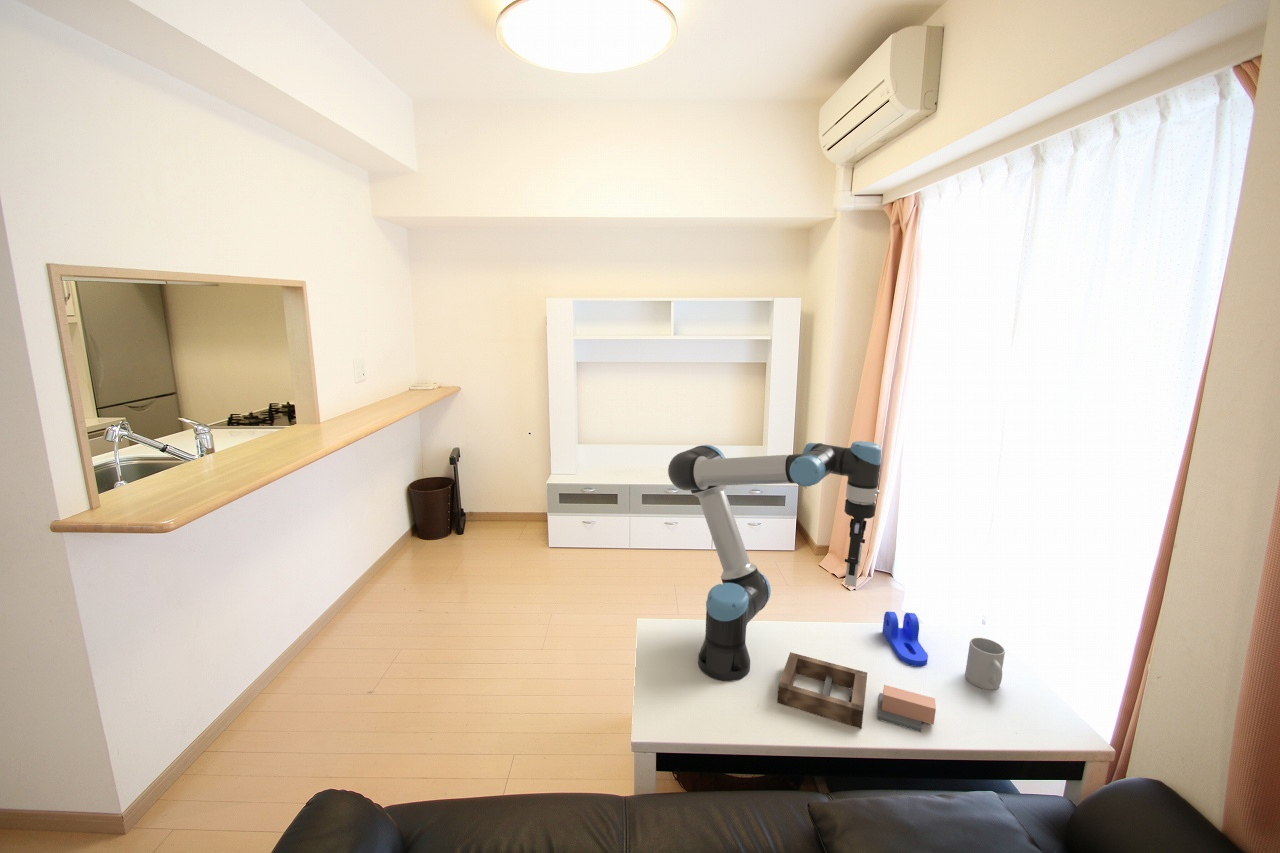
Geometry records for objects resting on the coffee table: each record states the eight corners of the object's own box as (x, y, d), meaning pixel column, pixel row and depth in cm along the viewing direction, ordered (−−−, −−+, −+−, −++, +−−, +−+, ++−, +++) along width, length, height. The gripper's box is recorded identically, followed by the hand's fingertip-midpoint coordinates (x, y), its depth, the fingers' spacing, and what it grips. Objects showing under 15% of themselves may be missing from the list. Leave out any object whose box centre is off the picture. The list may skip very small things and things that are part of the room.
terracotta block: (881, 709, 143) (883, 694, 142) (882, 699, 147) (884, 684, 146) (933, 724, 138) (935, 709, 137) (932, 713, 142) (934, 698, 141)
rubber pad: (877, 719, 141) (878, 715, 141) (879, 695, 150) (879, 692, 149) (921, 732, 137) (921, 728, 136) (920, 707, 145) (920, 703, 145)
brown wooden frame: (777, 702, 146) (778, 686, 145) (788, 667, 161) (790, 652, 160) (861, 728, 137) (863, 711, 136) (865, 688, 152) (867, 672, 151)
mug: (959, 670, 162) (964, 636, 159) (989, 672, 161) (994, 638, 159) (980, 697, 150) (986, 661, 148) (1013, 699, 149) (1019, 663, 147)
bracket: (882, 632, 181) (885, 607, 179) (908, 634, 180) (911, 609, 178) (902, 666, 163) (906, 638, 161) (931, 668, 162) (935, 640, 161)
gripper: (873, 517, 132) (864, 598, 136) (878, 489, 155) (870, 560, 159) (840, 512, 135) (832, 591, 140) (849, 485, 158) (842, 554, 162)
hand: (852, 574), depth 149 cm, fingers open, 13 cm apart
